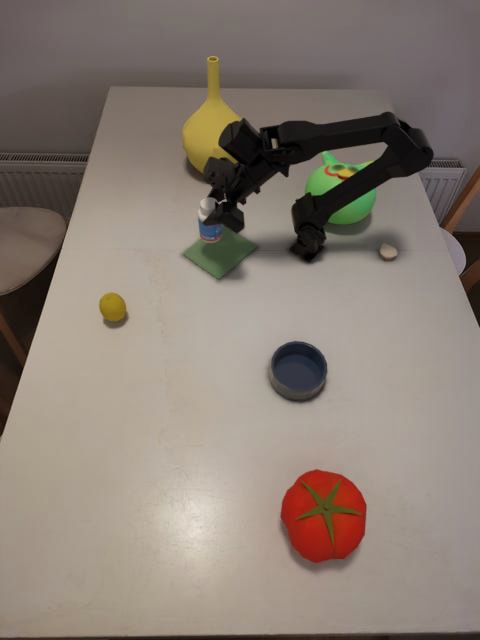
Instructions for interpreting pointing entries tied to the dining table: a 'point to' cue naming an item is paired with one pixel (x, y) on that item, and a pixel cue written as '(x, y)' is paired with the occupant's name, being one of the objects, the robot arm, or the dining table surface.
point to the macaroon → (388, 252)
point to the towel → (220, 253)
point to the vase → (208, 123)
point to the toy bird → (333, 176)
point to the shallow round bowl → (298, 370)
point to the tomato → (324, 516)
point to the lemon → (112, 306)
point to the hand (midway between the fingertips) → (203, 215)
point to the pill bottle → (212, 231)
